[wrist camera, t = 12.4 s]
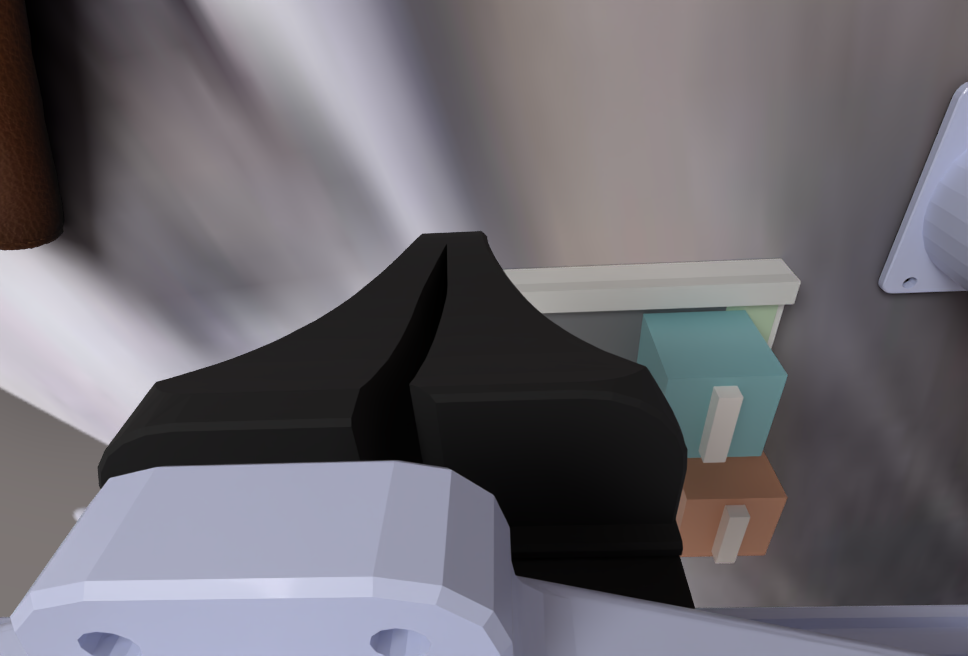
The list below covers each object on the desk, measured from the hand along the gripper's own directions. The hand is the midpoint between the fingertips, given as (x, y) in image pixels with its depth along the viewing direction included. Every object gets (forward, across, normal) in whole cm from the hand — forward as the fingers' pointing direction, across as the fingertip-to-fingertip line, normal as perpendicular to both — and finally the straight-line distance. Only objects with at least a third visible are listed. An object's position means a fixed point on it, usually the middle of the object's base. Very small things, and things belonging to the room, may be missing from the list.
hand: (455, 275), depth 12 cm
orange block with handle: (+8, -10, +16) cm, 20 cm away
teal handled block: (+9, -8, +9) cm, 15 cm away
